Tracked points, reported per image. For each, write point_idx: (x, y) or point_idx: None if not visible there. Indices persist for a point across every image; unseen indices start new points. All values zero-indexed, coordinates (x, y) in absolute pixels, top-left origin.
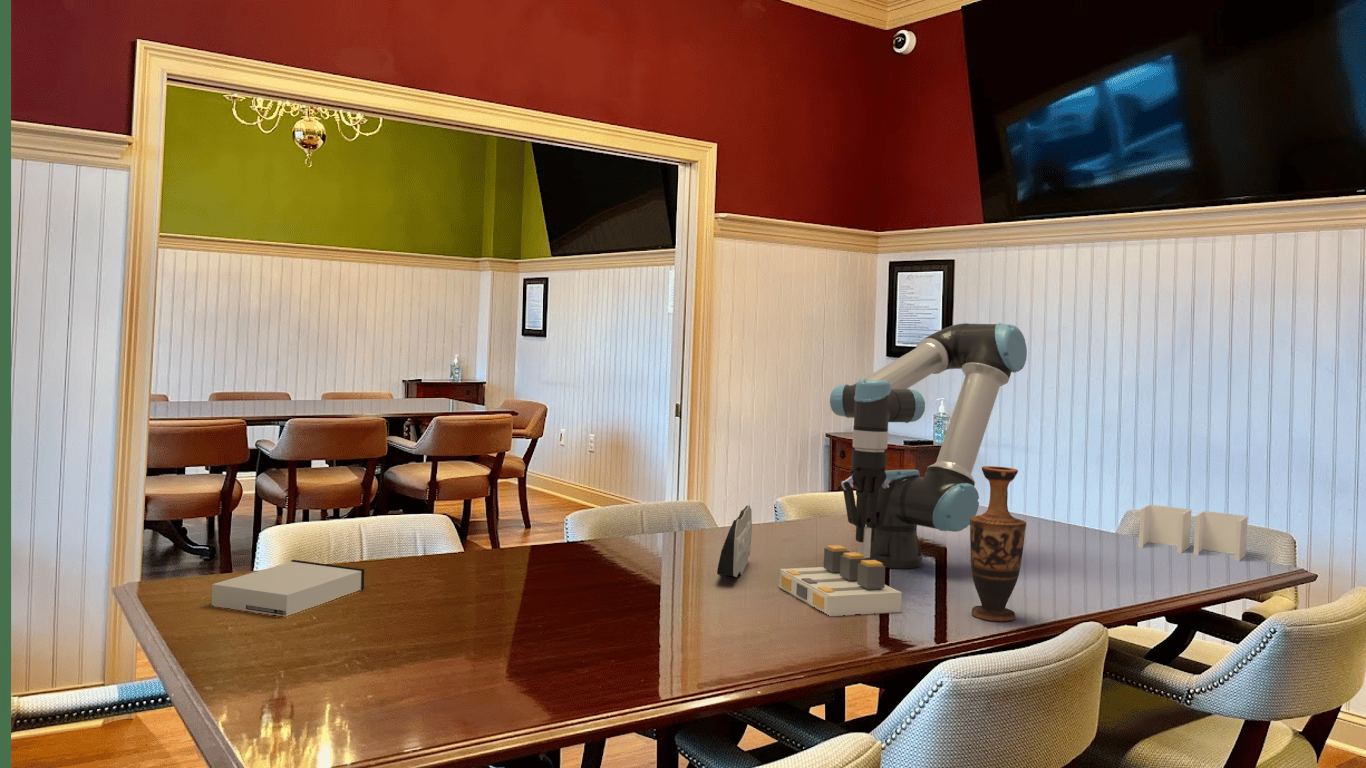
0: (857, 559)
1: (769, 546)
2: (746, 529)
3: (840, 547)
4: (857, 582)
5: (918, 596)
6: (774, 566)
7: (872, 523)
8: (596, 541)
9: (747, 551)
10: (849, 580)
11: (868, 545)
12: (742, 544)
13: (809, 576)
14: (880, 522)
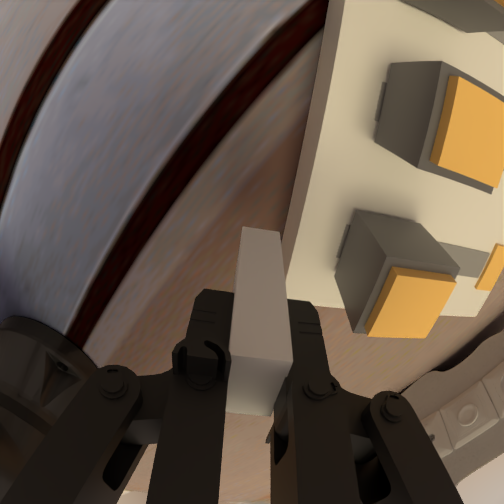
0: (485, 85)
1: (221, 468)
2: None
3: (410, 296)
4: (470, 32)
5: (131, 46)
6: None
7: (212, 393)
8: None
9: None
10: None
11: (254, 266)
12: (477, 409)
13: (492, 220)
14: (120, 381)
